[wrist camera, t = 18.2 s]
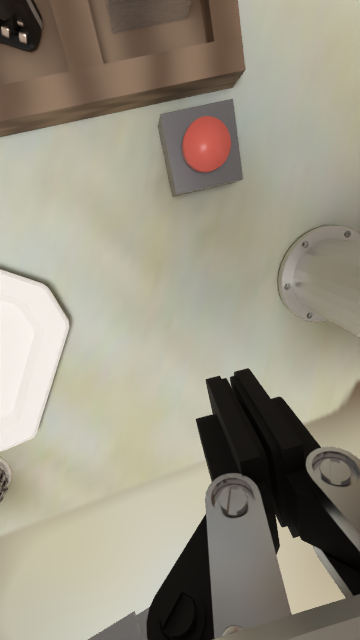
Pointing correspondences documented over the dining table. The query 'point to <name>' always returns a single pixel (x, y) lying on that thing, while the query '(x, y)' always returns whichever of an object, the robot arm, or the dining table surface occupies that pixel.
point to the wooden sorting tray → (118, 59)
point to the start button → (206, 144)
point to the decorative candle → (4, 477)
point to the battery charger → (20, 24)
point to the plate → (27, 354)
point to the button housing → (171, 139)
